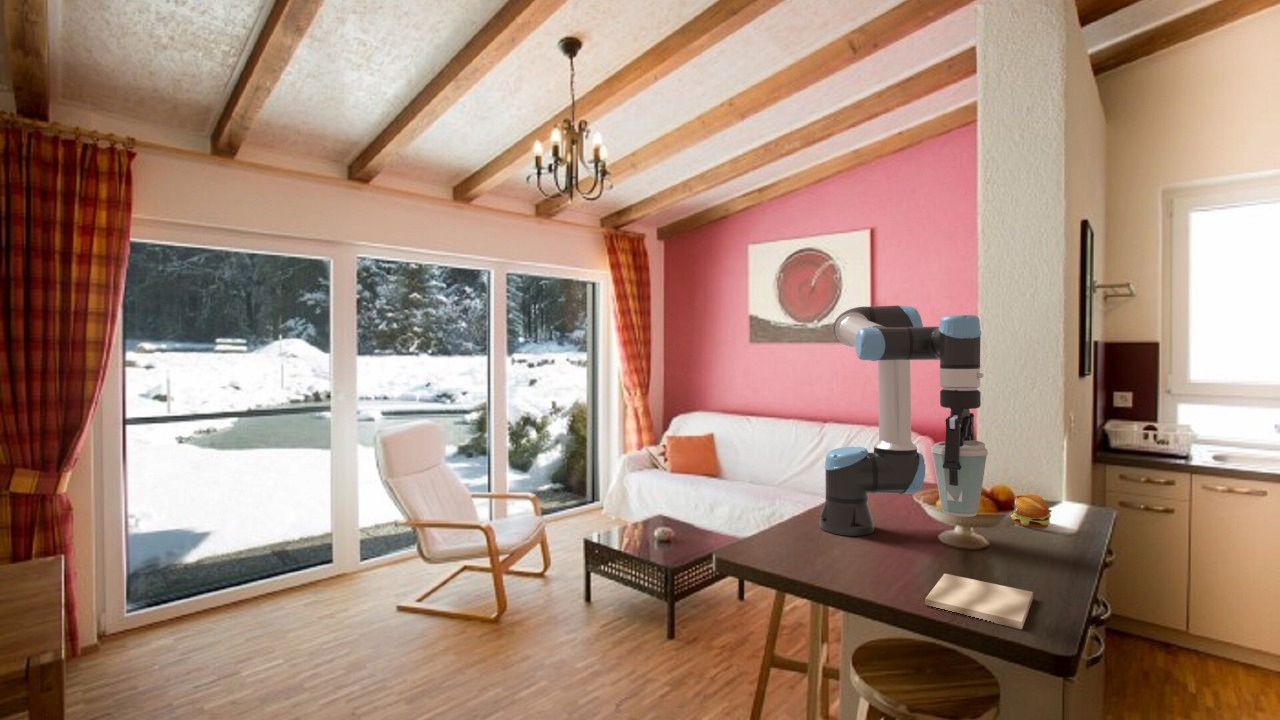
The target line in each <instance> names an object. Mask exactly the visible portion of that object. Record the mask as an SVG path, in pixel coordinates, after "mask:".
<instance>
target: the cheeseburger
mask: <svg viewBox="0 0 1280 720" xmlns="http://www.w3.org/2000/svg"><path fill="white" fill-rule="evenodd" d="M1015 498H1016V502H1017V505H1018V509H1017V511H1016V512H1014V513H1013V514H1012V513H1011V514H1012V515H1010V518H1011V521H1012V523H1014V524H1015V525H1017V526H1021V527H1025V528H1030V529H1045V528H1048V526H1049V525H1050V523H1051V522H1050V521H1051V520H1050V519H1051V517H1052V514H1051V513H1052V509H1049V505H1048V504H1047V502H1046V501H1045V500H1044V498H1043V497H1042V496H1040V495H1038V494H1034V493H1026V494H1020V495H1017V496H1016V497H1015Z"/></svg>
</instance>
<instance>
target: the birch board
mask: <svg viewBox="0 0 1280 720" xmlns="http://www.w3.org/2000/svg"><path fill="white" fill-rule="evenodd" d="M1033 599H1034V592H1033V591H1030V590H1026V589H1021V588H1015V587H1011V586H1007V585H1001V584H997V583H991V582H986V581H982V580H977V579H972V578H968V577H965V576H964V577H963V576H958V575H953V574H949V573H943V575H942V576H941V577H940V579H939V580H938V581H937V583H936V584H935V586H933V588H932V589H931V590H930V592H929V593H928V595H927V596H926V597H925V599H924V605H925V604H926V605H929V606H933V607H936V608H940V609H945V610H948V611H952V612H957V613H960V614H964V615H967V616H966V617H968V616H971V617H970V618H972V617H975V618H974V619H976V618H979V619H978V620H980V619H983V620H982V621H985V620H987V621H986V622H989V621H991V622H990V623H993V622H994V623H993V624H997V625H1001V626H1006V627H1010V628H1013V629H1018V630H1023V627H1024V624H1025V622H1026V619H1027V617H1028V614H1029V610H1030V608H1031V606H1032V603H1033ZM936 608H935V609H936ZM940 609H939V610H940ZM948 611H947V612H948ZM952 612H951V613H952ZM960 614H959V615H960ZM964 615H963V616H964Z"/></svg>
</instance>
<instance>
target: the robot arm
mask: <svg viewBox="0 0 1280 720" xmlns="http://www.w3.org/2000/svg"><path fill="white" fill-rule="evenodd" d="M923 324H924V323H923V319H922V317H921V315H920V313H919V311H918V310H917V309H916V308H915V307H913V306H911V305H881V306H880V305H879V306H877V305H876V306H857V307H852V308H850V309H847V310H846V311H844V312H841V314H839V315H838V316H837V318H836V319H835V321H834V323H833V327H832V328H833V329H832V330H833V331H832V332H833V334H834V337H835V338H836V340H837V341H838V342H839V343H840V344H842V345H844V346H846V347H850V348H851V347H854V348H855V353H856V356H857V358H858V359H860V360H861V361H871V362H878V363H877V365H878V366H877V367H878V377H877V378H878V437H879V438H878V441H876V443H875V444H874V445H873V452H869V451H868V449H867V448H866V447H863V446H844V447H838V448H835V449H832V450H829V451H828V452H827V453H826V456H825V466H824V470H825V502H824V504H823V507H822V511H821V514H820V516H819V527H820V529H821V530H823V531H825V532H827V533H831V534H836V535H839V536H847V537H849V536H853V537H855V536H868V535H870V534H871V535H872V534H873V532H874V531H875V522H874V518H873V516H872V513H871V509H870V506H869V504H868V502H869V501H868V500H869V499H868V496H869V494H897V495H898V494H899V495H905V494H916V493H918V492H919V491H920V490H921V488H922V486H923V485H924V481H925V477H926V464H925V463H926V462H925V458H924V457H925V456H924V455H923V454H922V453H920V452H919V451H918V447H917V445H915V444H914V443H913V442H912V401H911V399H912V398H911V397H912V396H911V393H912V392H911V391H912V390H911V386H912V385H911V361H921V360H922V361H926V360H927V361H939V387H941V388H942V389H940V391H939V396H940V397H939V403H940V406H941V407H942V408H944V409H945V408H947V409H950V412H949V413H950V415H949V416H948V417H946V418H945V420H944V421H945V439H944V442H945V460H944V464H943V468H947V469H949V479H950V480H949V484H950V485H955V486H958V472H957V470H960V469H961V466H960V462H959V452H960V447H963V443H964V441H970V440H971V441H975V429H974V428H975V427H974V423H975V422H974V421H975V420H974V419H975V414H974V413H973V412H970V411H971V410H975V409H979V408H980V407H981V403H982V402H981V391H980V390H979V388H980V387H981V379H982V378H984V373H983V372H981V341H982V340H981V339H982V338H981V336H982V331H981V320H980V317H979V316H977V315H975V314H964V315H963V314H957V315H956V314H955V315H953V314H952V315H944V316H942V317H941V318H940V320H939V326H923ZM977 388H978V389H977ZM948 460H950V461H948ZM952 461H955V462H952ZM947 500H952V501H955V500H954V499H953V498H952V496H951V495H950V494H949V492H948V491H947ZM958 501H959V502H962V491H961V494H960V497H959V500H958Z"/></svg>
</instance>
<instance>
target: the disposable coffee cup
mask: <svg viewBox="0 0 1280 720" xmlns="http://www.w3.org/2000/svg"><path fill="white" fill-rule="evenodd" d="M930 447H931V449H930V452H931V455H932V460H933V465H934V466H933V467H934V472H935V477H936V484H937V485H936V486H937V490H938V495H939V501H940V507H941V509H942V512H943V513H944V514H946V515H949V516H953V517H954V516H955V517H961V518H962V517H963V518H964V517H965V518H968V517H969V518H971V517H975V516H977V514H978V512H979V509H980V502H981V496H982V495H981V494H982V489H983V481H984V475H985V468H986V461H987V456H988V455H989V450H988V449H987V448H986V443H985V442H983V441H979V440H974V441H971V440H970V441H964V443H963V447H960V452H959V462H960V466H961V469H960V470H957V472H958V486H955V485H950V484H949V480H950V479H949V469H947V468H943V464H944V460H945V441H939V442H936V443H934V444H933V445H932V446H930ZM948 461H950V460H948ZM952 462H955V461H952ZM947 491H948V492H949V494H950V495H951V496H952V498H953V499H954V500H955V501H952V500H947ZM961 491H962V502H959V501H958V500H959V497H960V494H961Z"/></svg>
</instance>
